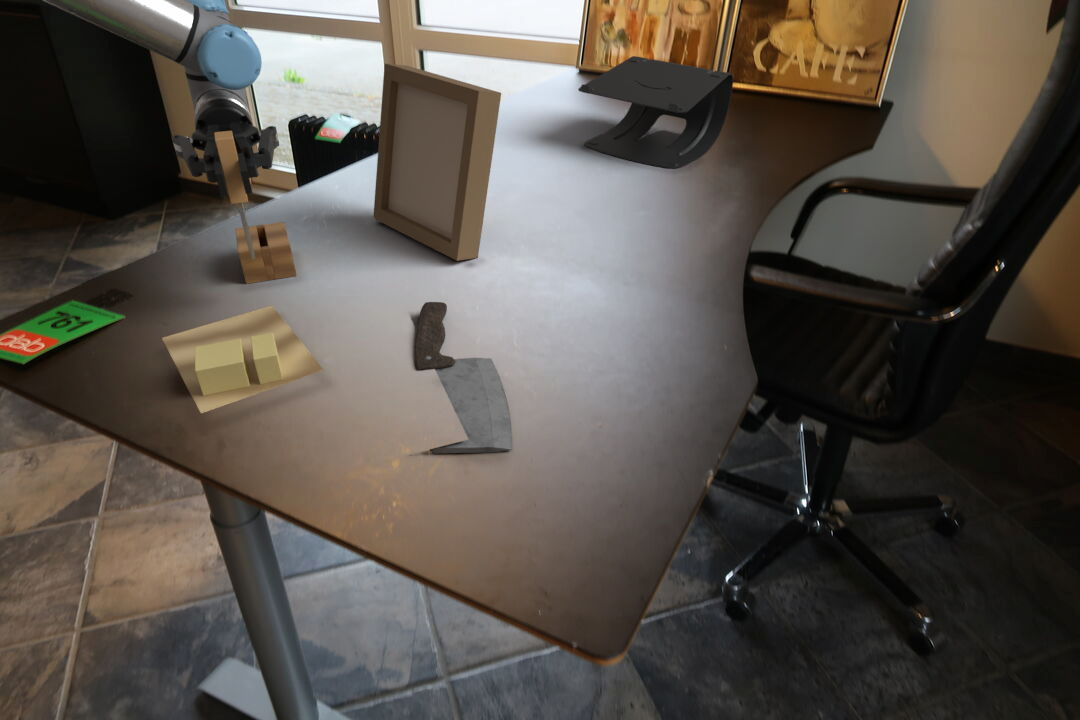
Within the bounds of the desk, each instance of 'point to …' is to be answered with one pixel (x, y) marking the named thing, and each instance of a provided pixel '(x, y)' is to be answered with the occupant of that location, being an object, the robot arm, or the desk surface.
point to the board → (243, 327)
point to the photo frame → (435, 158)
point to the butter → (221, 367)
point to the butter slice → (266, 358)
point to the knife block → (266, 253)
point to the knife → (233, 178)
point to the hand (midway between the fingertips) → (234, 183)
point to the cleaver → (464, 388)
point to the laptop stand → (662, 110)
